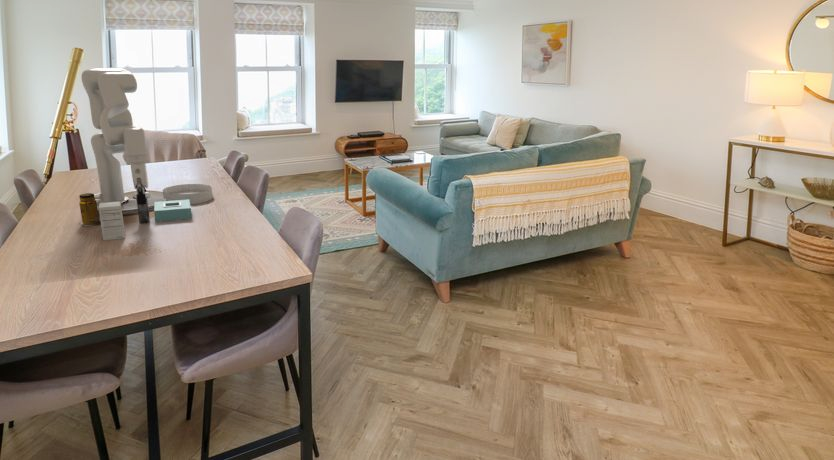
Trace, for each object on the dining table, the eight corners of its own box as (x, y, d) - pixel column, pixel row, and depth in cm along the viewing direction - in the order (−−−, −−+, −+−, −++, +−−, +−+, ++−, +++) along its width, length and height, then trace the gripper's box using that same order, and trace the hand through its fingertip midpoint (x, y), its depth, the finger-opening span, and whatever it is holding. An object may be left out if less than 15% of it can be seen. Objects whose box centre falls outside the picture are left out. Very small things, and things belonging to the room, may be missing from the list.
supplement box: (103, 235, 223) (98, 202, 219) (125, 233, 226) (121, 201, 222) (102, 240, 216) (97, 207, 213) (125, 238, 219) (120, 205, 216)
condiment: (78, 223, 237) (74, 194, 234) (100, 219, 243) (96, 190, 240) (86, 227, 233) (81, 197, 229) (108, 222, 239) (104, 193, 235)
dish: (196, 206, 267) (195, 195, 265) (153, 203, 271) (151, 192, 269) (221, 195, 287) (220, 185, 286) (180, 192, 292) (179, 182, 290)
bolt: (135, 225, 236) (132, 196, 232) (136, 221, 241) (132, 192, 238) (153, 223, 238) (149, 194, 235) (153, 219, 244) (150, 191, 240)
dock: (155, 221, 241) (154, 210, 240) (155, 211, 255) (154, 201, 254) (191, 218, 246) (190, 207, 245) (190, 209, 260) (189, 198, 259)
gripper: (146, 162, 226) (152, 205, 230) (147, 155, 241) (153, 196, 246) (125, 163, 223) (131, 207, 228) (127, 156, 238) (133, 197, 243)
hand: (142, 201), depth 237 cm, fingers open, 9 cm apart
